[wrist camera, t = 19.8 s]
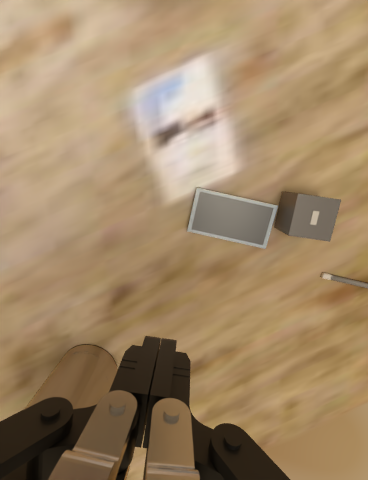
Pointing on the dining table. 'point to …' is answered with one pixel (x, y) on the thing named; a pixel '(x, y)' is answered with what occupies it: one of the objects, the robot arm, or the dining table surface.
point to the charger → (307, 215)
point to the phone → (231, 218)
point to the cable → (344, 280)
